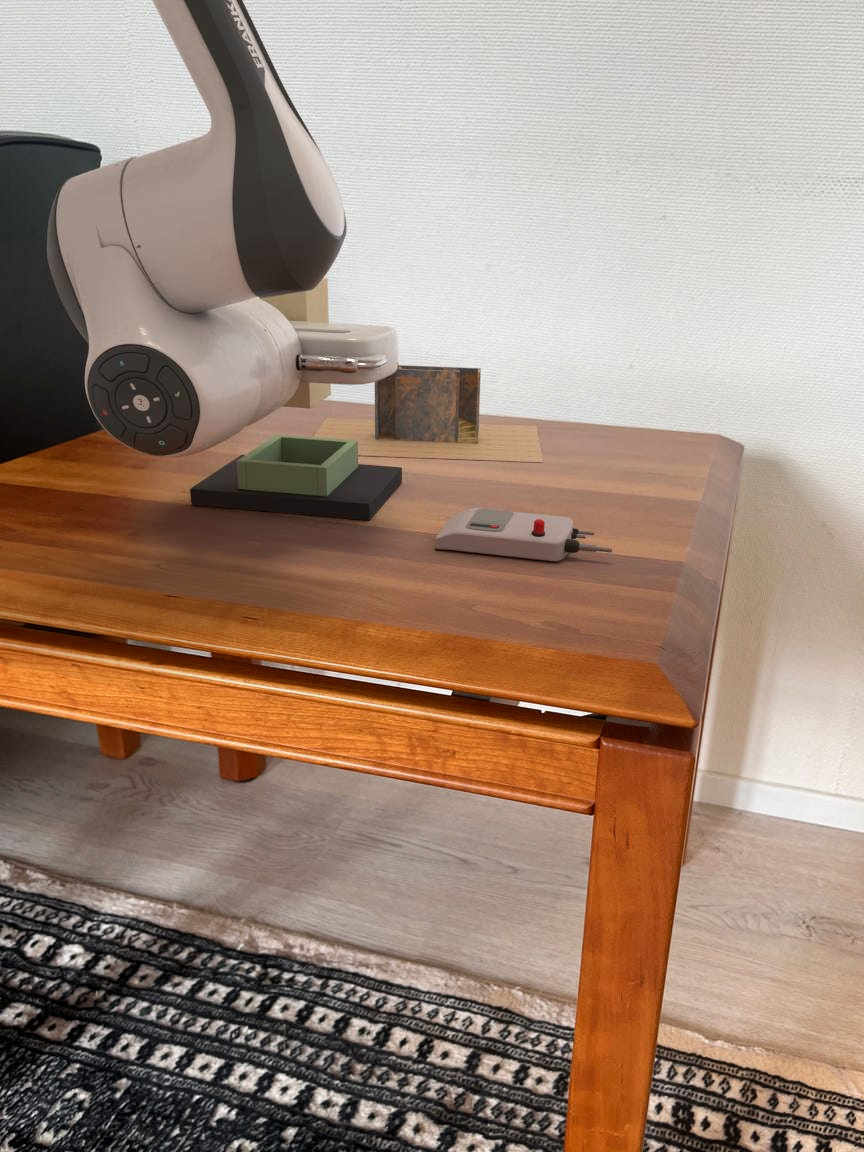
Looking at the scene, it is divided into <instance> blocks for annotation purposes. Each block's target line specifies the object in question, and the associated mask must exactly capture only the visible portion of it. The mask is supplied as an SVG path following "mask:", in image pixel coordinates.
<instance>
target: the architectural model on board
mask: <svg viewBox="0 0 864 1152" xmlns="http://www.w3.org/2000/svg"><path fill="white" fill-rule="evenodd" d="M481 373H482V368H481V367H461V366H455V367H454V366H437V365H436V366H435V365H434V366H433V365H432V366H431V365H408V364H407V365H406V364H398V366H397V370H396V372H395V373H394V374H392V375H390V376H388V377H386V378H383V379H381V380H378V381H376V382H374V419H360V418H359V419H358V418H357V419H356V418H333V417H332V418H331V417H330V418H329V417H326V418H324V419H323V421H322V423H321V424H320V426H319V427H318V429H317V430H316V432H315V434H314V435H313V436H312V437H317V438H330V439H343V440H356V441H358V457H359V456H363V457H390V458H417V459H441V460H467V461H468V460H471V461H492V462H493V461H494V462H495V461H496V462H522V463H544V460H543V454H542V449H541V448H542V447H541V443H540V437H539V432H538V431H539V430H538V427H537V425H521V424H520V425H518V424H517V425H516V424H494V423H493V424H491V423H488V424H487V423H480V402H481V401H480V400H481Z"/></svg>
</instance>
